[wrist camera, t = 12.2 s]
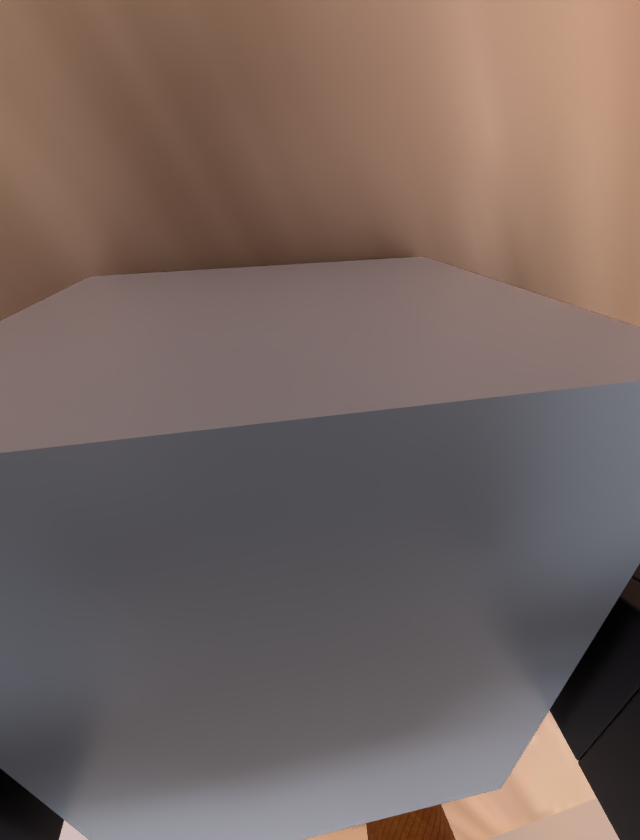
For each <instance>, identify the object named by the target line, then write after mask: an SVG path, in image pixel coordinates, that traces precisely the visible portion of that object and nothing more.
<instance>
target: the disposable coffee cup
mask: <svg viewBox="0 0 640 840" xmlns="http://www.w3.org/2000/svg"><path fill="white" fill-rule="evenodd" d="M366 824H367V834H368V840H455V837H454V835H453V832H452V830H451V828H450V825H449V823H448V820H447V818H446V816H445V813H444V811H443V808H442V806H441V804H439V805H435V806H431V807H427V808H423V809H419V810H416V811H412V812H408V813H404V814H400V815H396V816H392V817H388V818H384V819H380V820H377V821H373V822H369V823H366Z"/></svg>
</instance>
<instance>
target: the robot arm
mask: <svg viewBox="0 0 640 840" xmlns="http://www.w3.org/2000/svg"><path fill="white" fill-rule="evenodd" d="M550 712H551V714H552V715H553V717H554V719H555V721H556V723H557V725H558V727H559V728H560V730H561V732H562V734H563V736H564V738H565V739H566V741H567V743H568V745H569V747H570V749H571V750H572V752H573V754H574V756H575V758H576V759H577V760H579V761H578V764H579V766H580V767H581V769H582V771H583V773H584V775H585V777H586V779H587V780H588V782H589V784H590V786H591V788H592V790H593V791H594V793H595V795H596V797H597V799H598V801H599V802H600V804H601V806H602V808H603V810H604V812H605V813H606V815H607V817H608V819H609V821H610V822H611V824H612V826H613V828H614V830H615V832H616V833H617V835H618V837H619V839H620V840H640V564H639V566H638V567H637V569H636V570H635V572H634V574H633V575H632V577H631V579H630V580H629V582H628V583H627V585H626V587H625V588H624V590H623V591H622V593H621V595H620V596H619V598H618V600H617V601H616V603H615V604H614V606H613V608H612V609H611V611H610V613H609V614H608V616H607V617H606V619H605V621H604V622H603V624H602V626H601V627H600V629H599V630H598V632H597V634H596V635H595V637H594V638H593V640H592V642H591V643H590V645H589V647H588V648H587V650H586V651H585V653H584V655H583V656H582V658H581V660H580V661H579V663H578V664H577V666H576V668H575V669H574V671H573V672H572V674H571V676H570V677H569V679H568V681H567V682H566V684H565V685H564V687H563V689H562V690H561V692H560V694H559V695H558V697H557V698H556V700H555V702H554V703H553V705H552V707H551V708H550ZM63 822H64V819H63V818H61V817H60V816H59V815H58V814H56V813H55V812H54V811H53V810H51V809H50V808H49V807H48V806H47V805H45V804H44V803H43V802H42V801H40V800H39V799H38V798H37V797H35V796H34V795H33V794H32V793H30V792H29V791H28V790H27V789H25V788H24V787H23V786H22V785H20V784H19V783H18V782H17V781H16V780H14V779H13V778H12V777H11V776H9V775H8V774H7V773H6V772H4V771H3V770H2V769H1V768H0V840H59V837H60V833H61V829H62V826H63Z"/></svg>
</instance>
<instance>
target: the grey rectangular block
mask: <svg viewBox="0 0 640 840" xmlns="http://www.w3.org/2000/svg"><path fill="white" fill-rule="evenodd" d="M639 564H640V327H637V326H634V325H631V324H628V323H625V322H622V321H619V320H616V319H613V318H610V317H607V316H604V315H601V314H598V313H595V312H592V311H589V310H586V309H583V308H580V307H576V306H573V305H570V304H567V303H564V302H561V301H558V300H555V299H552V298H549V297H546V296H543V295H540V294H537V293H534V292H531V291H528V290H525V289H522V288H519V287H516V286H512V285H509V284H506V283H503V282H500V281H497V280H494V279H491V278H488V277H485V276H482V275H479V274H476V273H473V272H470V271H467V270H464V269H461V268H458V267H455V266H452V265H449V264H445V263H442V262H439V261H436V260H433V259H430V258H427V257H424V256H421V257H405V258H388V259H371V260H354V261H338V262H321V263H304V264H287V265H271V266H254V267H237V268H220V269H204V270H187V271H170V272H154V273H137V274H120V275H103V276H89V277H87V278H85V279H83V280H81V281H79V282H77V283H75V284H73V285H71V286H69V287H67V288H65V289H63V290H61V291H59V292H57V293H55V294H53V295H51V296H49V297H47V298H45V299H43V300H41V301H39V302H37V303H35V304H33V305H31V306H29V307H27V308H25V309H23V310H21V311H19V312H17V313H15V314H13V315H11V316H9V317H7V318H5V319H3V320H1V321H0V768H1V769H2V770H3V771H4V772H6V773H7V774H8V775H9V776H11V777H12V778H13V779H14V780H16V781H17V782H18V783H19V784H20V785H22V786H23V787H24V788H25V789H27V790H28V791H29V792H30V793H32V794H33V795H34V796H35V797H37V798H38V799H39V800H40V801H42V802H43V803H44V804H45V805H47V806H48V807H49V808H50V809H51V810H53V811H54V812H55V813H56V814H58V815H59V816H60V817H61V818H63V819H64V820H65V821H66V822H68V823H69V824H70V825H71V826H73V827H74V828H75V829H76V830H78V831H79V832H80V833H81V834H82V835H84V836H85V837H86V838H87V839H89V840H303V839H306V838H310V837H314V836H318V835H322V834H326V833H330V832H334V831H338V830H342V829H345V828H349V827H353V826H357V825H361V824H365V823H369V822H373V821H377V820H380V819H384V818H388V817H392V816H396V815H400V814H404V813H408V812H412V811H416V810H419V809H423V808H427V807H431V806H435V805H439V804H443V803H447V802H451V801H454V800H458V799H462V798H466V797H470V796H474V795H478V794H482V793H486V792H489V791H493V790H497V789H501V788H502V786H503V784H504V783H505V781H506V779H507V778H508V776H509V775H510V773H511V771H512V770H513V768H514V766H515V765H516V763H517V762H518V760H519V758H520V757H521V755H522V754H523V752H524V750H525V749H526V747H527V745H528V744H529V742H530V741H531V739H532V737H533V736H534V734H535V732H536V731H537V729H538V728H539V726H540V724H541V723H542V721H543V719H544V718H545V716H546V715H547V713H548V711H549V710H550V708H551V707H552V705H553V703H554V702H555V700H556V698H557V697H558V695H559V694H560V692H561V690H562V689H563V687H564V685H565V684H566V682H567V681H568V679H569V677H570V676H571V674H572V672H573V671H574V669H575V668H576V666H577V664H578V663H579V661H580V660H581V658H582V656H583V655H584V653H585V651H586V650H587V648H588V647H589V645H590V643H591V642H592V640H593V638H594V637H595V635H596V634H597V632H598V630H599V629H600V627H601V626H602V624H603V622H604V621H605V619H606V617H607V616H608V614H609V613H610V611H611V609H612V608H613V606H614V604H615V603H616V601H617V600H618V598H619V596H620V595H621V593H622V591H623V590H624V588H625V587H626V585H627V583H628V582H629V580H630V579H631V577H632V575H633V574H634V572H635V570H636V569H637V567H638V566H639Z"/></svg>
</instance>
